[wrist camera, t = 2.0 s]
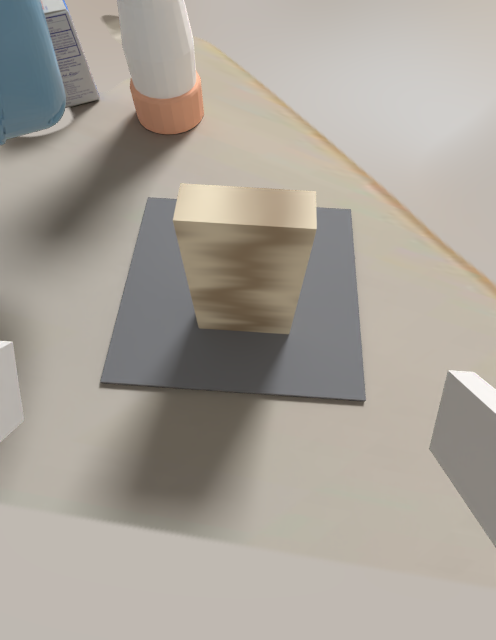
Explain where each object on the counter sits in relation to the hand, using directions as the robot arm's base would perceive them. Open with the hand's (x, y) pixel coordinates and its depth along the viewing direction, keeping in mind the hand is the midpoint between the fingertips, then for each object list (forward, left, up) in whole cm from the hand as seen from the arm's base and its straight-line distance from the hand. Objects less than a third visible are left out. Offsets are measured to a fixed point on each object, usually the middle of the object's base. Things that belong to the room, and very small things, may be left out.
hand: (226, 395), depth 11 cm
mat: (-1, +13, -15) cm, 20 cm away
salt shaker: (-10, +35, -15) cm, 40 cm away
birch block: (0, +10, -15) cm, 18 cm away
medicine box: (-22, +39, -15) cm, 48 cm away
